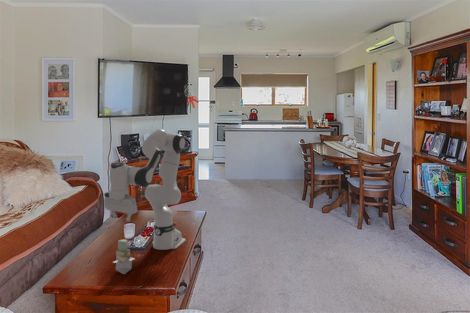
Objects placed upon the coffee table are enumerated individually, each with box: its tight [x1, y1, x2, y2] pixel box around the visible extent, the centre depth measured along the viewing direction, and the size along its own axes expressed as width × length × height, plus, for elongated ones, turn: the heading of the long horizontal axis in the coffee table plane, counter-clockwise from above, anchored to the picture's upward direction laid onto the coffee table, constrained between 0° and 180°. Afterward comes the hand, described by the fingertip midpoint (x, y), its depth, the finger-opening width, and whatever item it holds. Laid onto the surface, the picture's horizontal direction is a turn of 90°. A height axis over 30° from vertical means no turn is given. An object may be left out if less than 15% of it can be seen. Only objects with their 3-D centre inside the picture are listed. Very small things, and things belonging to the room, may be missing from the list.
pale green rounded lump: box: [117, 239, 129, 252], centre depth 205 cm, size 5×5×5 cm
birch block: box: [115, 248, 131, 262], centre depth 206 cm, size 5×5×5 cm
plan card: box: [112, 256, 136, 264], centre depth 222 cm, size 10×8×1 cm
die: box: [115, 259, 133, 275], centre depth 207 cm, size 8×9×10 cm
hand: (121, 219), depth 203 cm, fingers open, 8 cm apart
